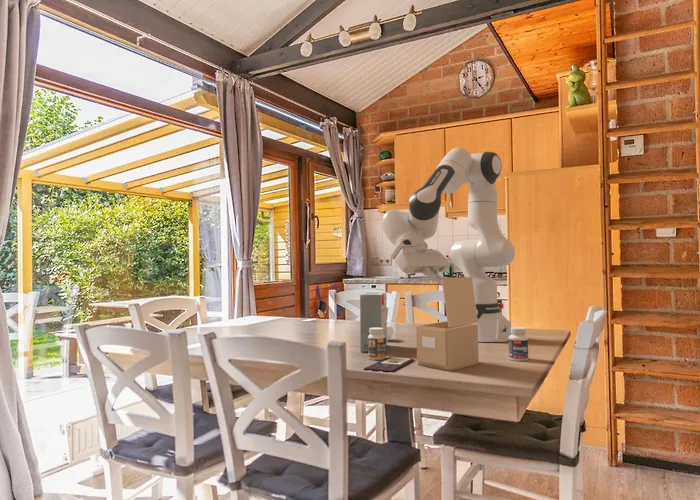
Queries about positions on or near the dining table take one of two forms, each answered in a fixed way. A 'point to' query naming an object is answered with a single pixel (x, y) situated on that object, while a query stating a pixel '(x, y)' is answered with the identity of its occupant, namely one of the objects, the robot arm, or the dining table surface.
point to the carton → (447, 345)
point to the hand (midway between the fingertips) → (437, 280)
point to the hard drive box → (372, 316)
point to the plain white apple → (389, 332)
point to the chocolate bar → (389, 364)
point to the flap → (459, 301)
